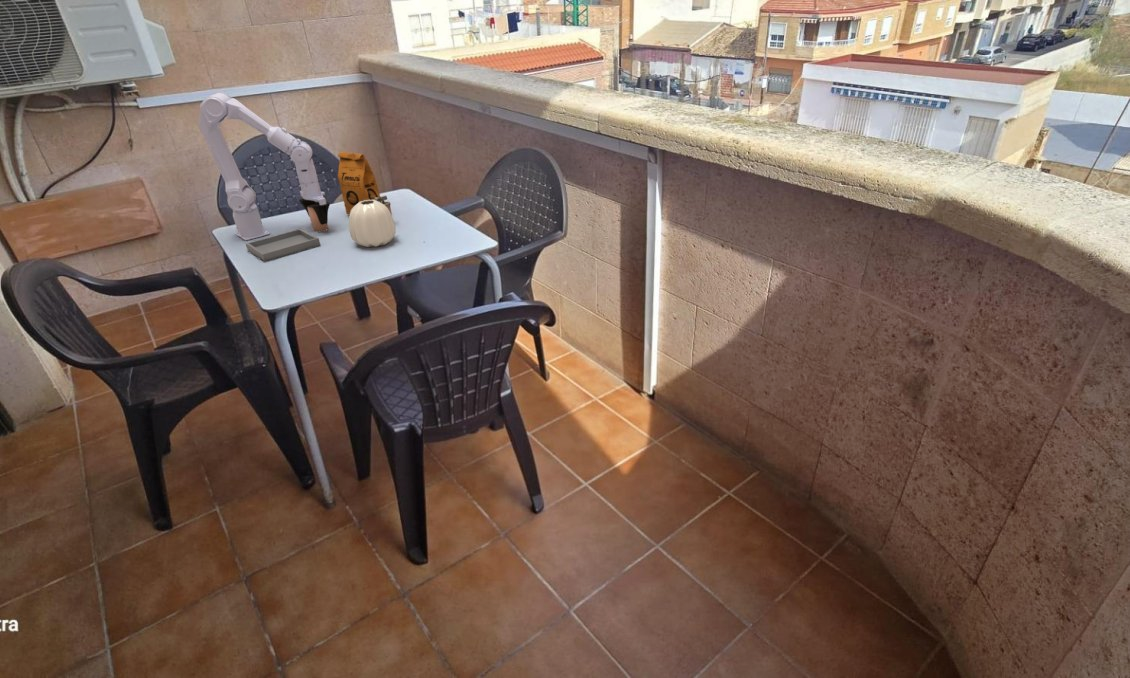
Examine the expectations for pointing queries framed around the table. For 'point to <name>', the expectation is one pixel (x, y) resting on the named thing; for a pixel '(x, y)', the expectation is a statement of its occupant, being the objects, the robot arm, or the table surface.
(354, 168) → the coffee package
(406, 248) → the table surface
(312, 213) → the cup
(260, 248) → the tray
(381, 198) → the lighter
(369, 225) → the vase
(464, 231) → the table surface
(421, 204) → the table surface
